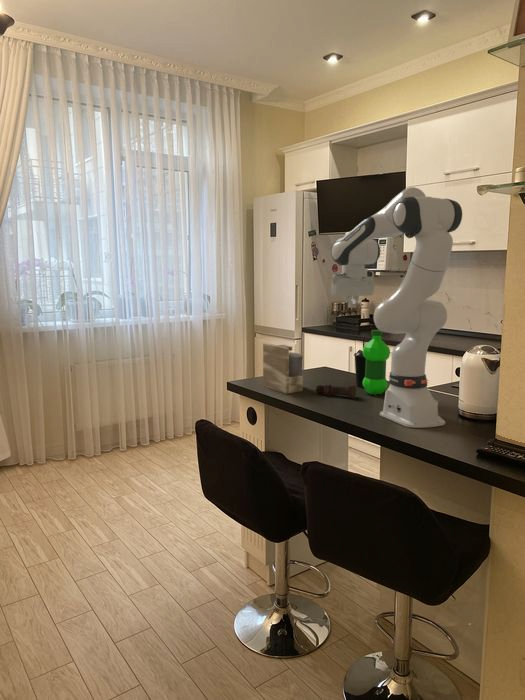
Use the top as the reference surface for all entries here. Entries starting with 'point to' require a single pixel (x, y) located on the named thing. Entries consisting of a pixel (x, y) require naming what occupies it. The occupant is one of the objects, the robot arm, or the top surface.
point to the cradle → (279, 369)
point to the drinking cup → (360, 367)
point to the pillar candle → (295, 364)
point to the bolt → (337, 390)
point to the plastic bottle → (375, 364)
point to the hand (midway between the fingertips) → (352, 307)
